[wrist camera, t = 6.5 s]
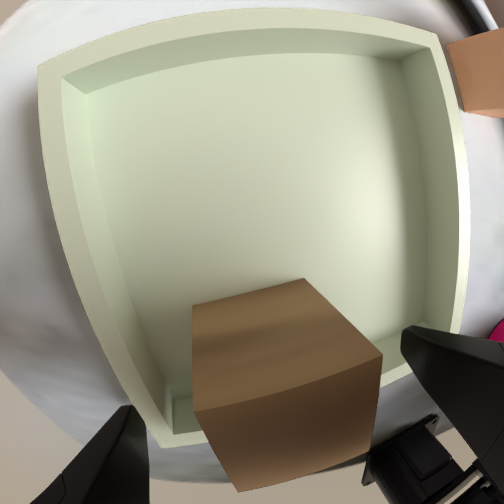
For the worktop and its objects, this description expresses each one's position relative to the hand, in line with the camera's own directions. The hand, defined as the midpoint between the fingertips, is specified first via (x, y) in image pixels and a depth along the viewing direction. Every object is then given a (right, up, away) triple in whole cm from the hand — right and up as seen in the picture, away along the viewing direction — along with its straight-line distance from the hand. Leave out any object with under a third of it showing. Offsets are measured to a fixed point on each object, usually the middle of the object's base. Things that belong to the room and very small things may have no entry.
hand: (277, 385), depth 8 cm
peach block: (+12, +14, +2) cm, 18 cm away
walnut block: (-1, +1, +2) cm, 3 cm away
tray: (+1, +5, +2) cm, 5 cm away
